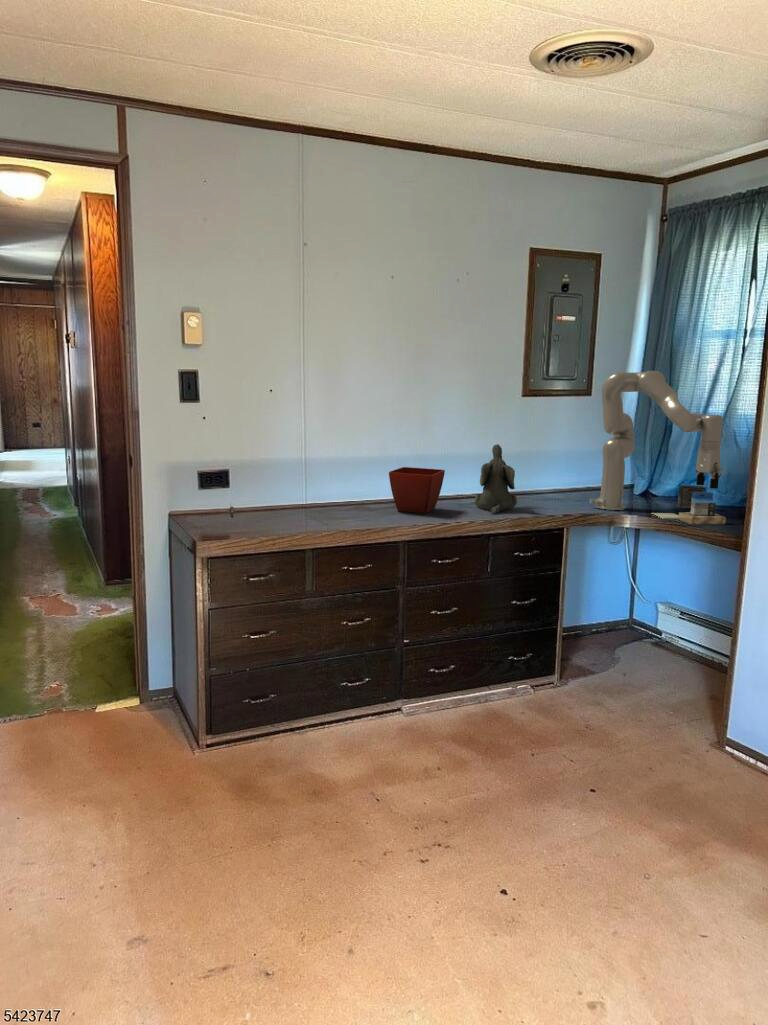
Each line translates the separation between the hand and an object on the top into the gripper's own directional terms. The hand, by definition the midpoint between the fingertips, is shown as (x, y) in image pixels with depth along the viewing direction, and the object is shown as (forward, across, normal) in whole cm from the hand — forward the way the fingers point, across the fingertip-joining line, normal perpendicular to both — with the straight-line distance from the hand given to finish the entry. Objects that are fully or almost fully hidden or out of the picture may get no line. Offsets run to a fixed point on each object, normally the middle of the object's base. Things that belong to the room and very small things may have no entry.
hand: (706, 486), depth 313 cm
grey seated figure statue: (+13, -30, -81) cm, 87 cm away
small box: (+15, -31, +12) cm, 36 cm away
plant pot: (+13, -27, -117) cm, 120 cm away
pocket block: (+15, -1, -1) cm, 15 cm away
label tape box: (+15, -1, -1) cm, 15 cm away
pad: (+14, -12, -10) cm, 21 cm away
